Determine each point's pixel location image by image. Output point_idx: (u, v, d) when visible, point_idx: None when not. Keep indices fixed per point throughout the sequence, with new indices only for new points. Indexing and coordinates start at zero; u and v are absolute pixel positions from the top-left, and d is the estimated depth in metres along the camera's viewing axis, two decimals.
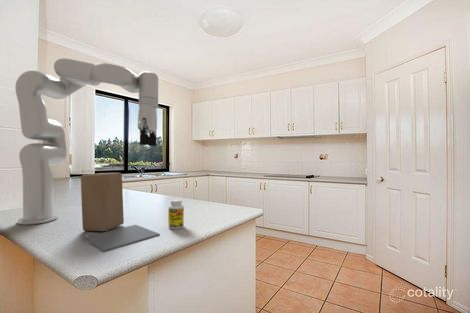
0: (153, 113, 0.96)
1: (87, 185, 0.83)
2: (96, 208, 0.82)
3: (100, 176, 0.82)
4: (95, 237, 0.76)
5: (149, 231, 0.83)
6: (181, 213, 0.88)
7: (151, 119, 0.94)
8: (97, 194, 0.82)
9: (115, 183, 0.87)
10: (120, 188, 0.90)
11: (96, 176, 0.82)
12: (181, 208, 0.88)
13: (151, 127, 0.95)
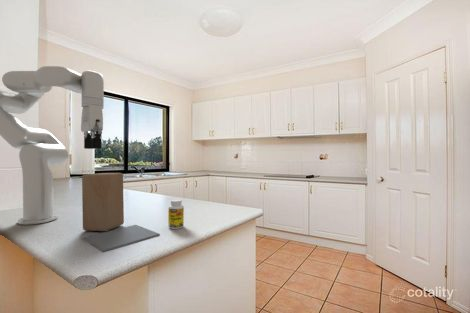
0: None
1: (88, 185, 0.83)
2: (97, 208, 0.82)
3: (101, 176, 0.82)
4: (95, 237, 0.76)
5: (149, 231, 0.83)
6: (181, 213, 0.88)
7: None
8: (98, 194, 0.82)
9: (116, 183, 0.87)
10: (121, 188, 0.90)
11: (97, 176, 0.83)
12: (181, 208, 0.88)
13: None
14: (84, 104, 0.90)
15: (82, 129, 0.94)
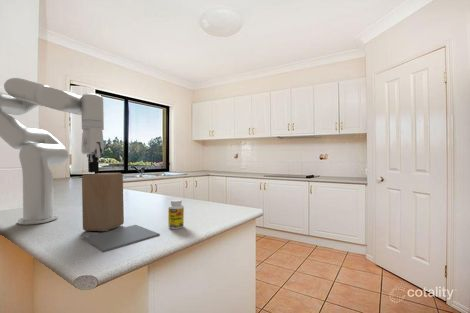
0: None
1: (88, 185, 0.83)
2: (97, 208, 0.82)
3: (101, 176, 0.82)
4: (95, 237, 0.76)
5: (149, 231, 0.83)
6: (181, 213, 0.88)
7: None
8: (98, 194, 0.82)
9: (115, 183, 0.87)
10: (121, 188, 0.90)
11: (97, 176, 0.83)
12: (181, 208, 0.88)
13: None
14: (84, 127, 0.91)
15: (83, 151, 0.94)
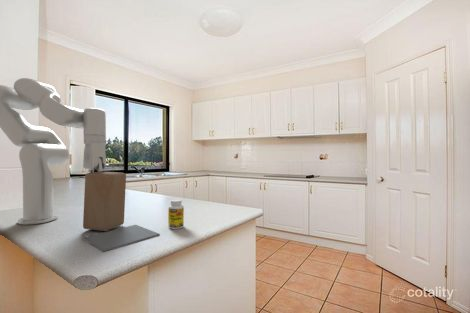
0: None
1: (91, 184, 0.83)
2: (98, 207, 0.82)
3: (105, 176, 0.82)
4: (95, 237, 0.76)
5: (149, 231, 0.83)
6: (181, 213, 0.88)
7: None
8: (100, 194, 0.82)
9: (118, 184, 0.87)
10: (123, 188, 0.90)
11: (101, 175, 0.82)
12: (181, 208, 0.88)
13: None
14: (86, 142, 0.89)
15: (85, 166, 0.92)
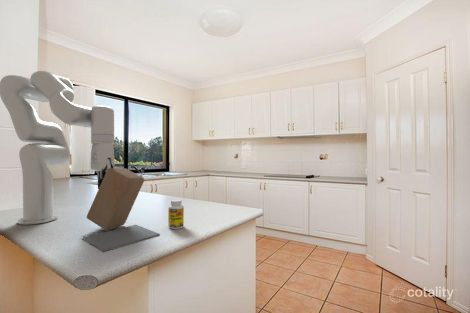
0: None
1: (109, 180, 0.83)
2: (108, 206, 0.82)
3: (125, 179, 0.81)
4: (95, 237, 0.76)
5: (149, 231, 0.83)
6: (181, 213, 0.88)
7: None
8: (114, 194, 0.82)
9: (134, 188, 0.86)
10: (137, 193, 0.89)
11: (122, 177, 0.82)
12: (181, 208, 0.88)
13: None
14: (94, 142, 0.84)
15: (92, 167, 0.87)
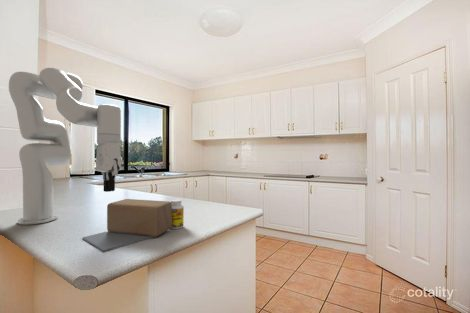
0: None
1: (147, 216, 0.78)
2: (126, 224, 0.80)
3: (155, 233, 0.77)
4: (95, 237, 0.76)
5: None
6: (181, 213, 0.88)
7: None
8: (138, 227, 0.78)
9: None
10: None
11: (155, 228, 0.77)
12: (181, 208, 0.88)
13: None
14: (100, 142, 0.81)
15: (98, 168, 0.84)
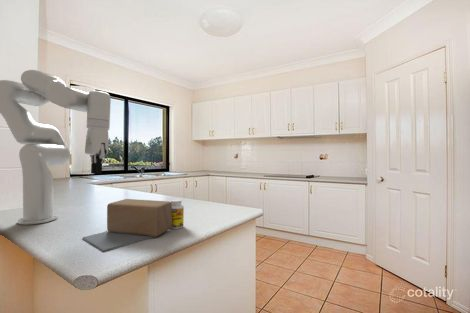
0: None
1: (147, 216, 0.78)
2: (126, 224, 0.80)
3: (155, 233, 0.77)
4: (95, 237, 0.76)
5: None
6: (181, 213, 0.88)
7: None
8: (138, 227, 0.78)
9: None
10: None
11: (155, 228, 0.77)
12: (181, 208, 0.88)
13: None
14: (89, 126, 0.86)
15: (86, 151, 0.89)
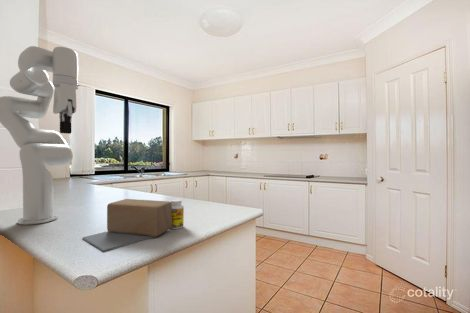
0: None
1: (147, 216, 0.78)
2: (126, 224, 0.80)
3: (155, 233, 0.77)
4: (95, 237, 0.76)
5: None
6: (181, 213, 0.88)
7: None
8: (138, 227, 0.78)
9: None
10: None
11: (155, 228, 0.77)
12: (181, 208, 0.88)
13: None
14: (55, 83, 0.83)
15: (54, 110, 0.86)
